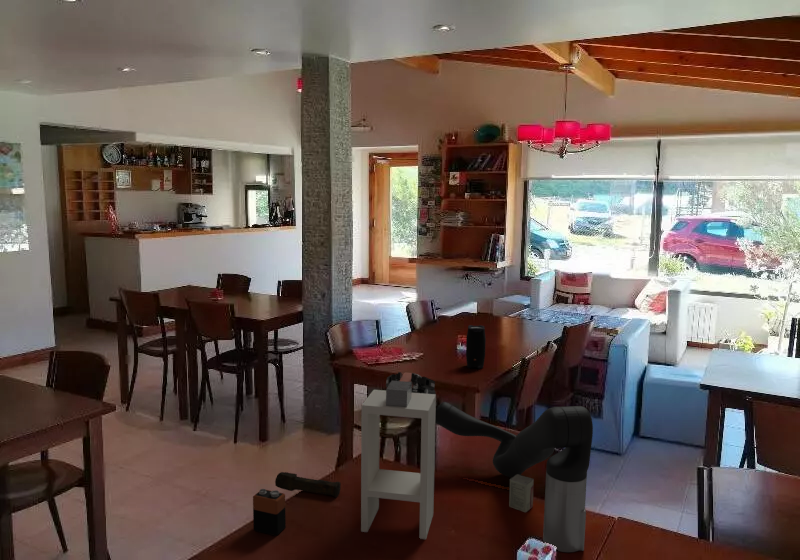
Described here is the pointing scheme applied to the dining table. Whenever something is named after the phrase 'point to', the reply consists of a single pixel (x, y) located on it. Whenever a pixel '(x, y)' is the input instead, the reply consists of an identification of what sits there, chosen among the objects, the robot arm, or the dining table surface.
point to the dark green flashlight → (307, 484)
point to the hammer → (399, 391)
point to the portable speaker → (475, 346)
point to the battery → (269, 512)
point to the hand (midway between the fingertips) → (405, 376)
